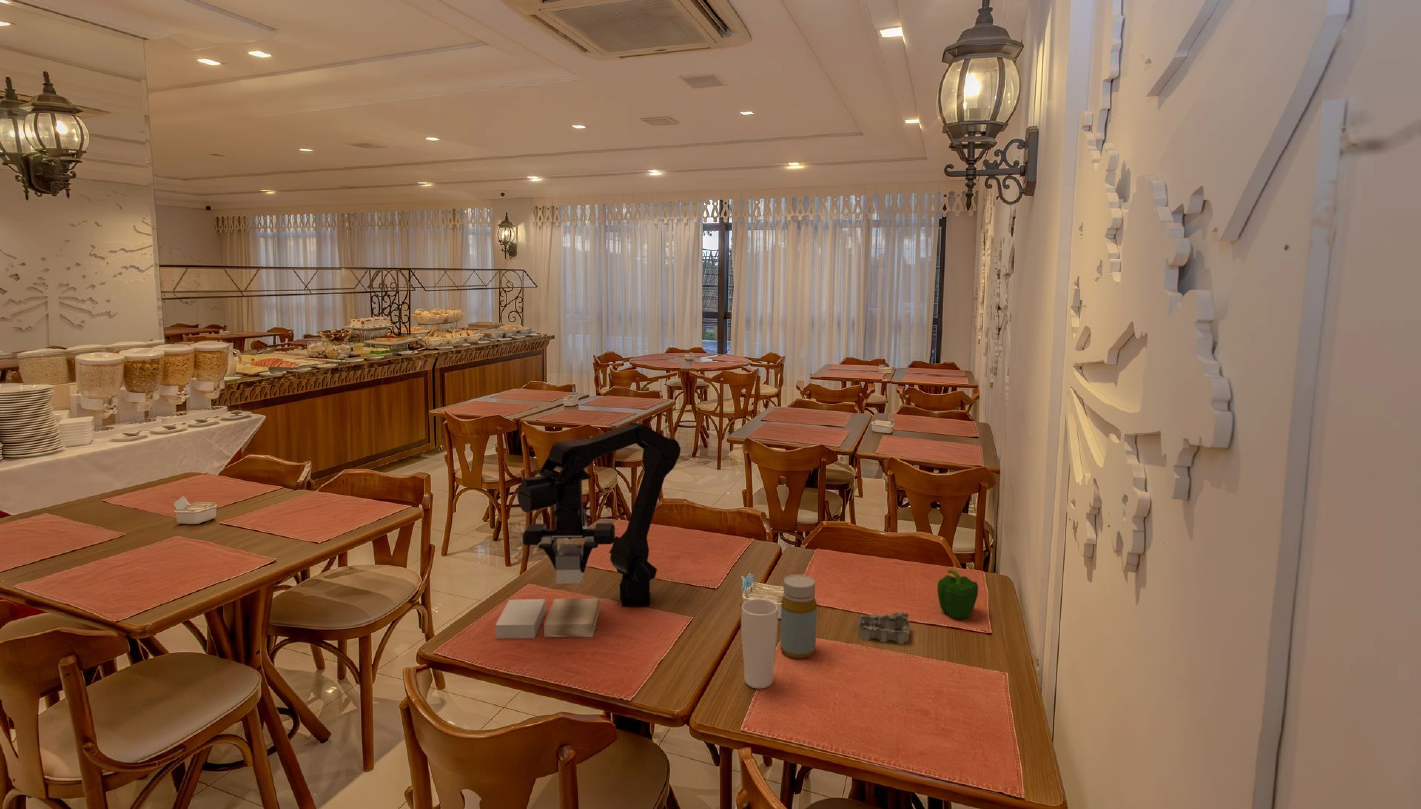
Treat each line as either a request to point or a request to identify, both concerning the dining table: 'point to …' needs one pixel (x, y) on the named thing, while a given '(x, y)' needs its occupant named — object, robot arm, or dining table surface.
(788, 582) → the bottle
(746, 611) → the drinking glass
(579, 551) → the housing
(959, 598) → the bell pepper
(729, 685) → the dining table surface
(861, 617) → the egg carton
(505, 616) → the stand
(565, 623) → the stand
